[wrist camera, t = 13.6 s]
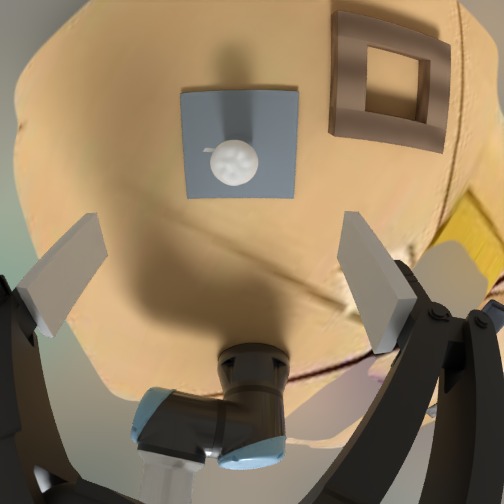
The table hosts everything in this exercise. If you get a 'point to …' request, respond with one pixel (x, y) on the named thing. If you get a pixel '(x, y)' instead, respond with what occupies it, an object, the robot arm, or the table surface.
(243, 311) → the table surface
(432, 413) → the terrain model
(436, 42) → the pocket block
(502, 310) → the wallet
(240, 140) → the milkshake
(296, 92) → the mat
